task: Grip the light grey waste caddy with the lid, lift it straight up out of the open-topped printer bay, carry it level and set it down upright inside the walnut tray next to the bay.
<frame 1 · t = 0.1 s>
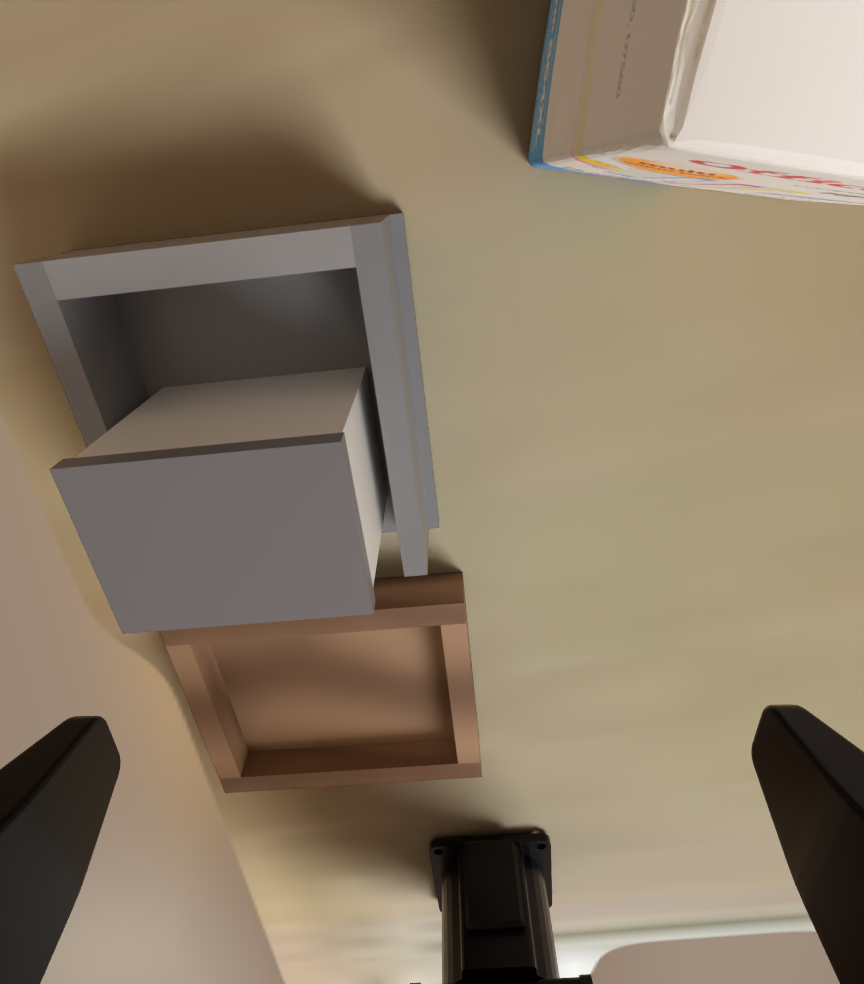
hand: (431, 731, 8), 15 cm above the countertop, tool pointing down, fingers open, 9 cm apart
walnut tray: (339, 673, 27), on the countertop
waste caddy: (280, 444, 22), resting on printer bay
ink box: (704, 12, 16), on the countertop
printer bay: (283, 439, 22), on the countertop
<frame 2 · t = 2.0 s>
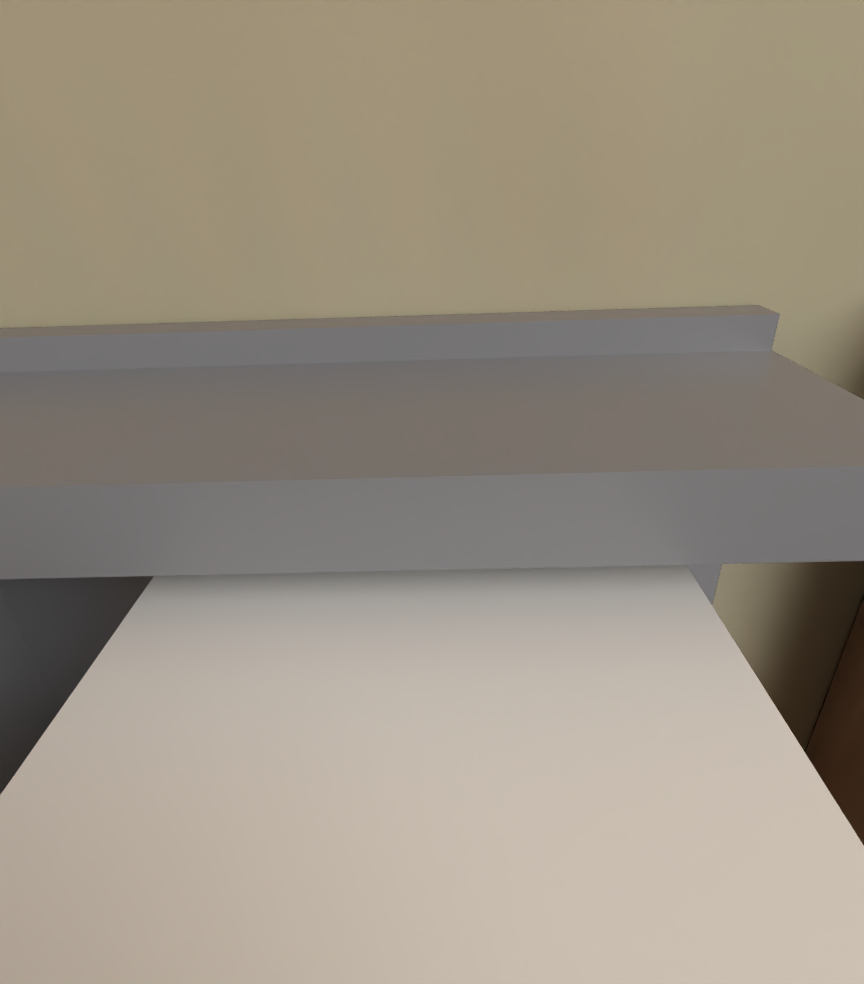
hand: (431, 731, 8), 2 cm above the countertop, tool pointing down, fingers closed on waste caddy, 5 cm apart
waste caddy: (431, 677, 9), resting on printer bay, touching gripper
printer bay: (431, 654, 10), on the countertop
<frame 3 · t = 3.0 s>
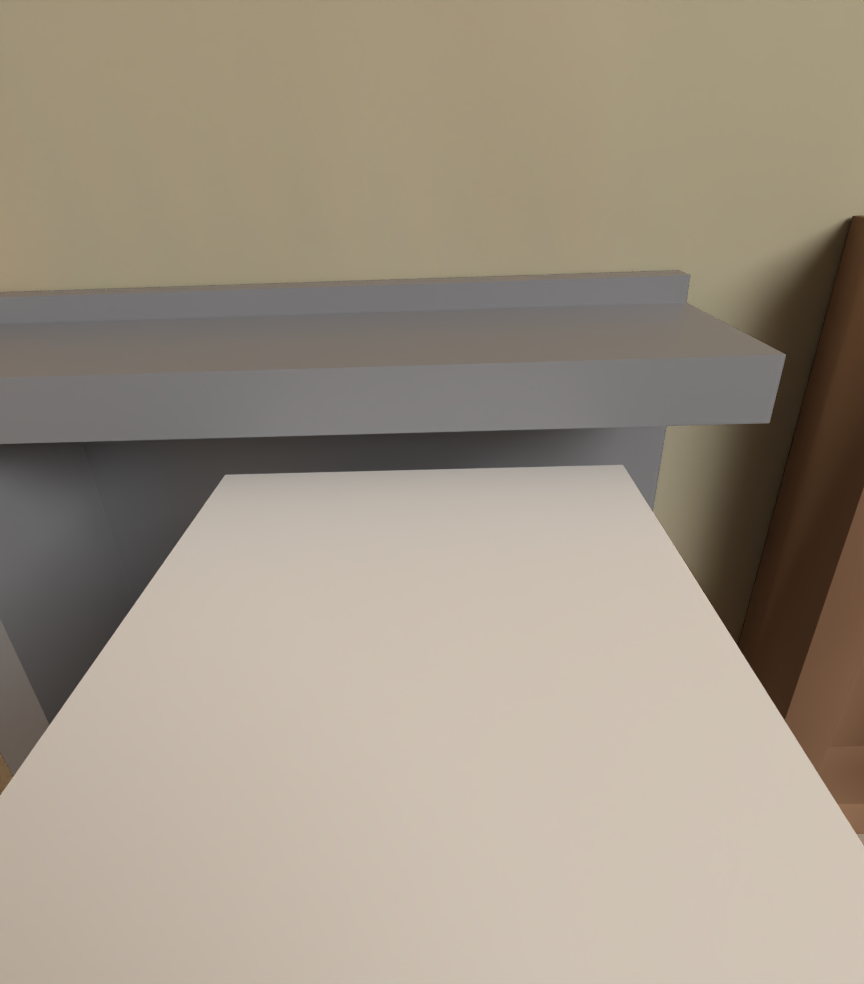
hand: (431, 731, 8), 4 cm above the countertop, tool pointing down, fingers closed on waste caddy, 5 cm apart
waste caddy: (431, 676, 9), point 3 cm above the countertop, touching gripper
printer bay: (434, 556, 12), on the countertop
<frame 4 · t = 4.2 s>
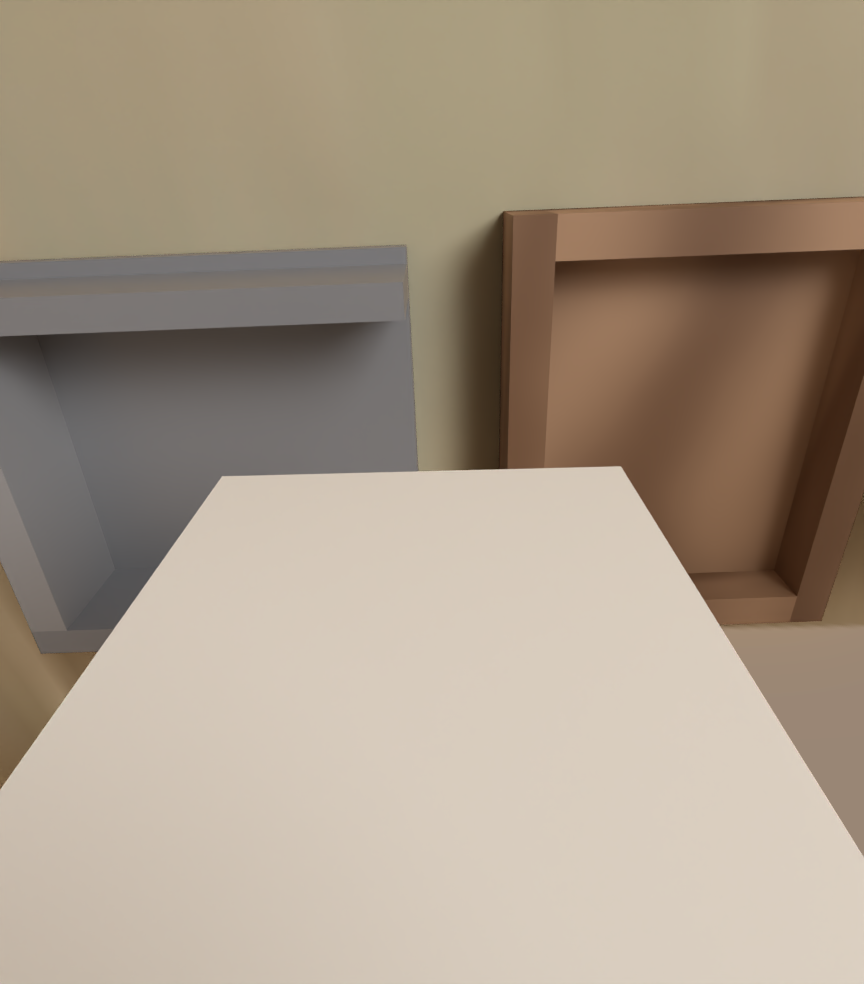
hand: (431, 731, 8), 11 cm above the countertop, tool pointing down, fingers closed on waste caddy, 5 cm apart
walnut tray: (666, 425, 18), on the countertop
waste caddy: (429, 678, 9), point 10 cm above the countertop, touching gripper
printer bay: (283, 439, 18), on the countertop
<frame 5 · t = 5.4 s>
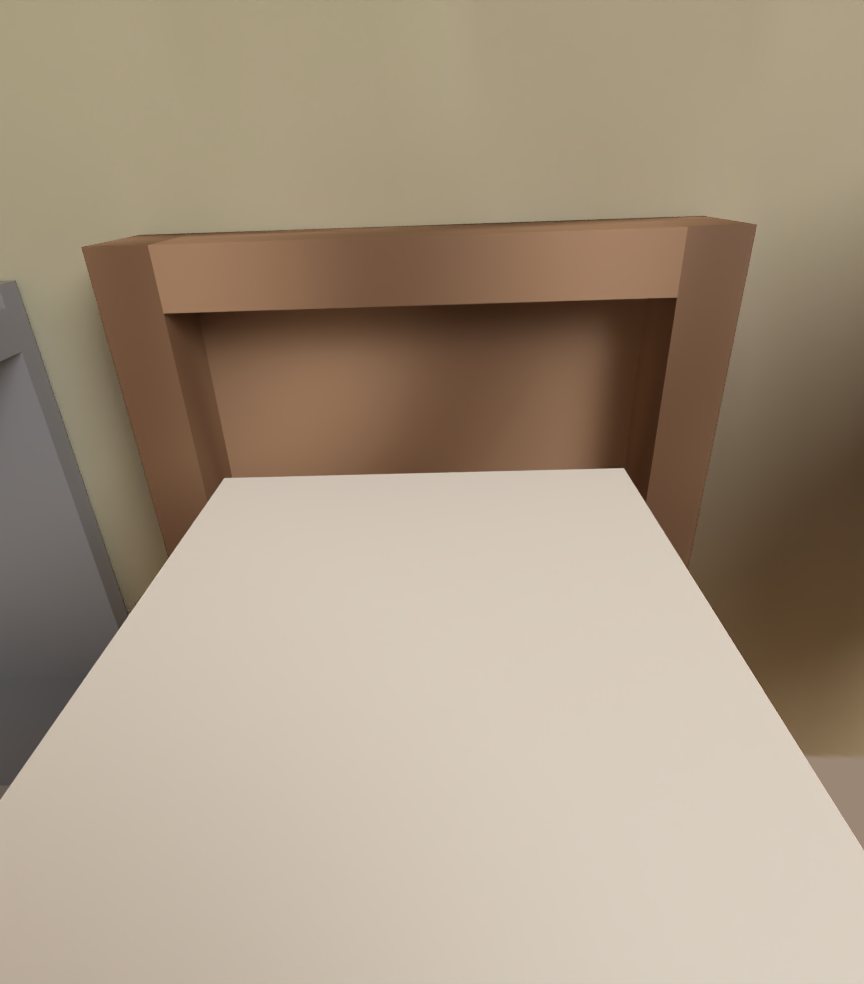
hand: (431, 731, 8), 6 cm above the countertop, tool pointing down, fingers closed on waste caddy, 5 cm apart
walnut tray: (429, 518, 14), on the countertop
waste caddy: (431, 679, 9), point 5 cm above the countertop, touching gripper
when the fingers open (3 cm above the countertop, at t = 6.4 s): waste caddy drops 1 cm, resting on walnut tray.
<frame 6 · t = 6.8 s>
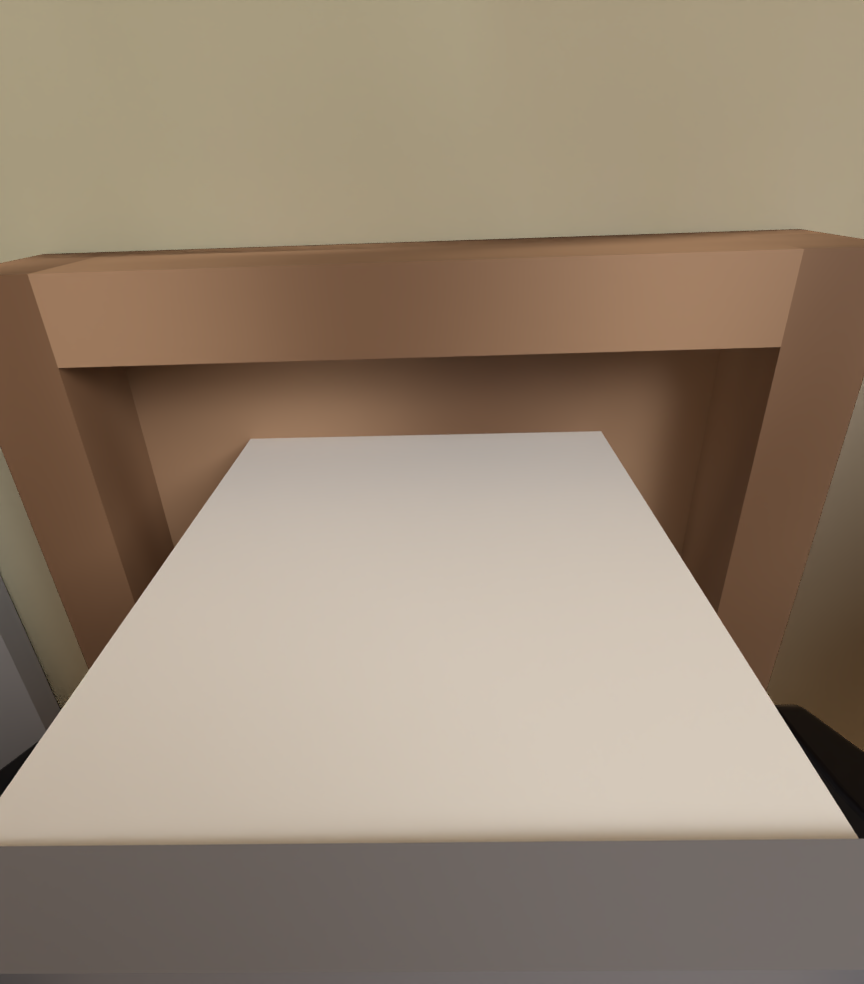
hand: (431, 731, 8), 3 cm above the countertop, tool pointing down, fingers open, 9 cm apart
walnut tray: (431, 604, 11), on the countertop
waste caddy: (431, 626, 10), point 1 cm above the countertop, touching walnut tray
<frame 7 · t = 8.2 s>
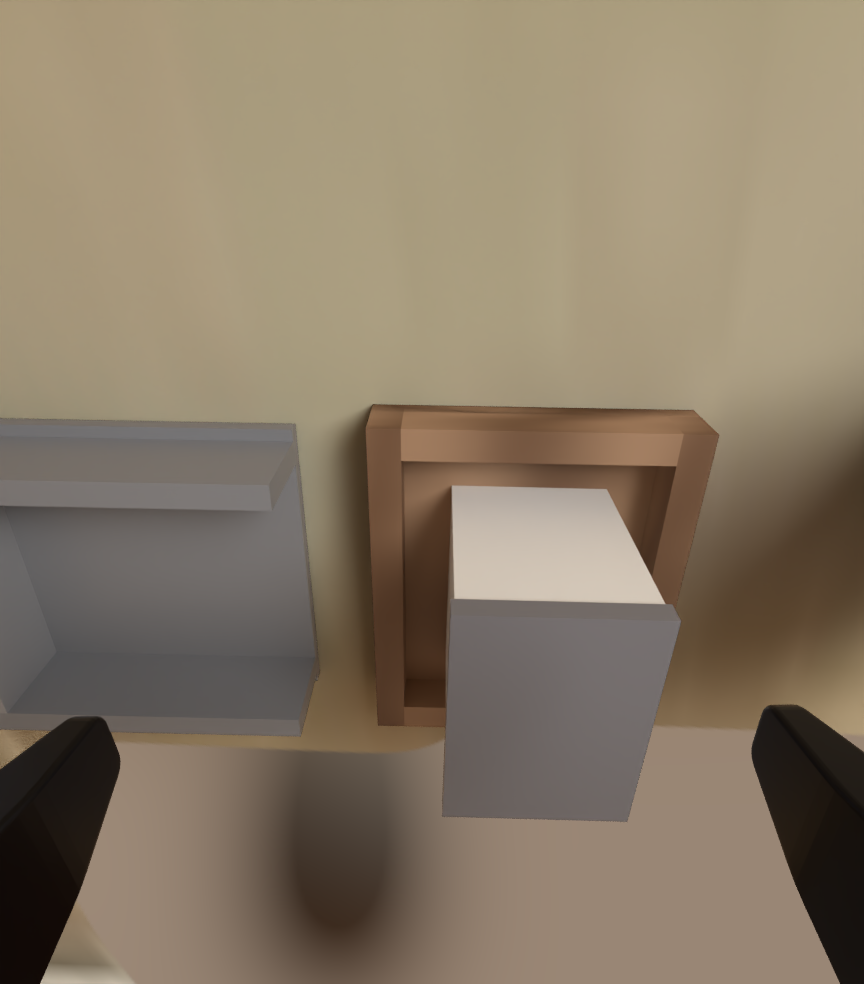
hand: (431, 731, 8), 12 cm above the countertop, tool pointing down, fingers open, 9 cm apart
walnut tray: (517, 566, 22), on the countertop
waste caddy: (519, 576, 21), point 1 cm above the countertop, touching walnut tray
printer bay: (198, 559, 22), on the countertop
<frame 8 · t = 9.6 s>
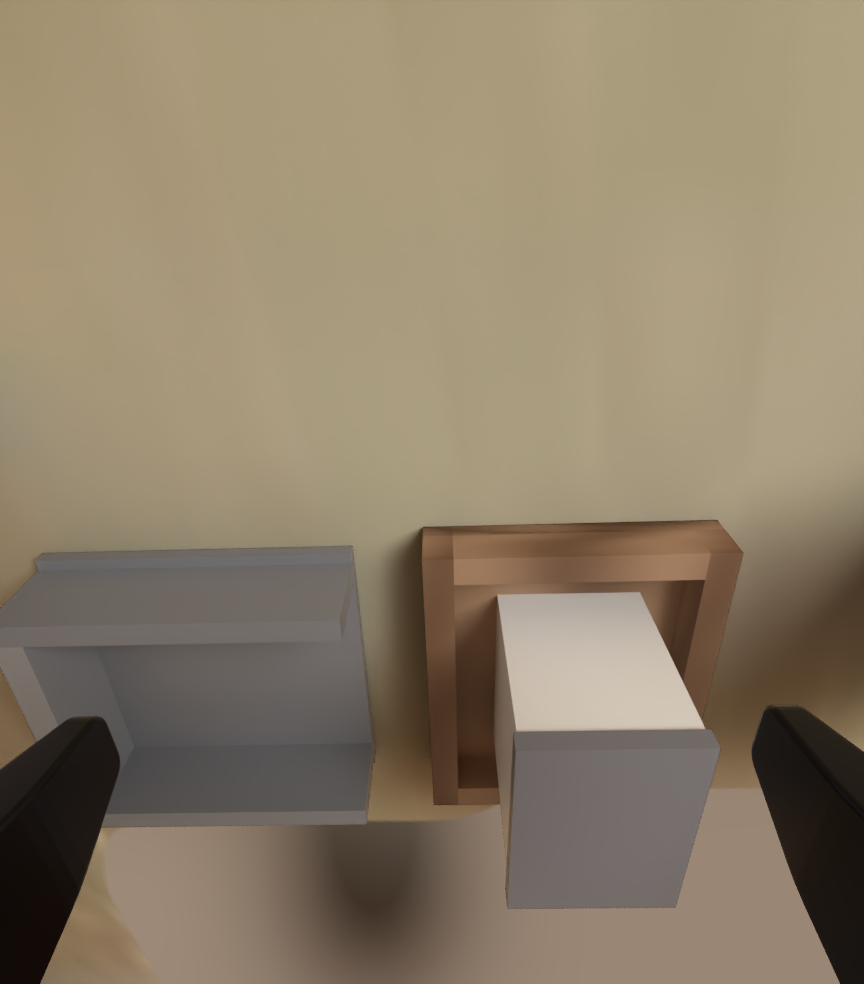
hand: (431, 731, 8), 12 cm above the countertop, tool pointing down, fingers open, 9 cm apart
walnut tray: (558, 656, 23), on the countertop
waste caddy: (561, 667, 23), point 1 cm above the countertop, touching walnut tray
printer bay: (263, 662, 24), on the countertop
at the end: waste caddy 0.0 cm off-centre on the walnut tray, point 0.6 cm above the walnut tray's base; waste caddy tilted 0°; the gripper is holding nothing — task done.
